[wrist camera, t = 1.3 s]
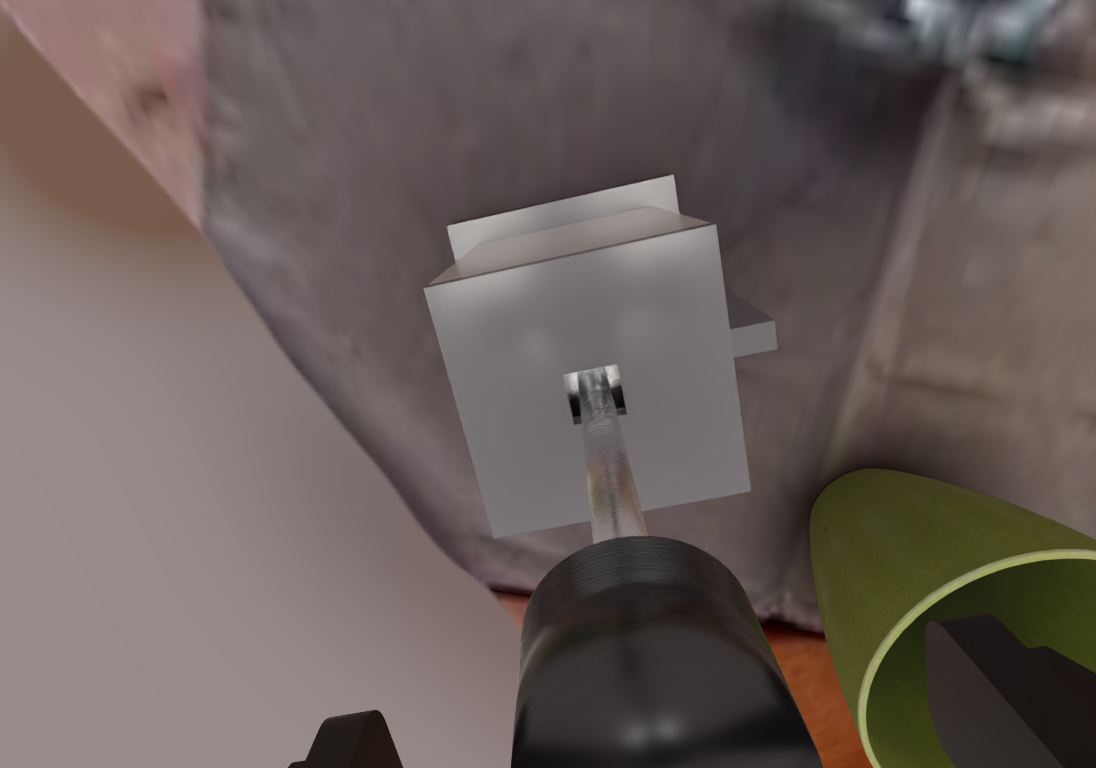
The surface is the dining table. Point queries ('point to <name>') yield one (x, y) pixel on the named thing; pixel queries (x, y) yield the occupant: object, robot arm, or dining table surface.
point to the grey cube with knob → (594, 350)
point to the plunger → (645, 640)
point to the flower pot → (935, 593)
